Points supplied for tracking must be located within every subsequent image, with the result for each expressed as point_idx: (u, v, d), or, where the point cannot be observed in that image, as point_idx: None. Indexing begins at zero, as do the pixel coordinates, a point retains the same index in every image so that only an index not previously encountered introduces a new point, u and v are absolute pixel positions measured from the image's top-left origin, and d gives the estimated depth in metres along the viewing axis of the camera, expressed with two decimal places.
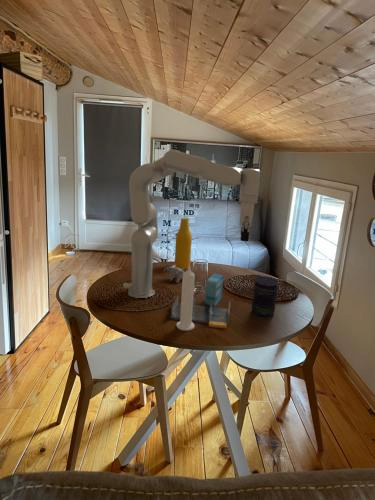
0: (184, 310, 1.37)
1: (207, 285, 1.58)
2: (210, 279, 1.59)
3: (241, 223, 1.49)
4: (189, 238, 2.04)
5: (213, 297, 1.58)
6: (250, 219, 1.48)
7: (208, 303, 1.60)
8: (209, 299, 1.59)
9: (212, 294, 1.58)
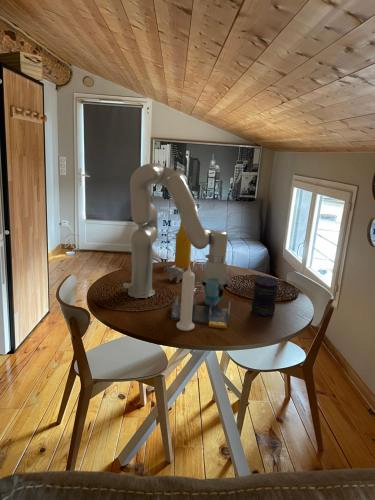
0: (184, 310, 1.37)
1: (207, 285, 1.58)
2: (210, 279, 1.59)
3: None
4: None
5: (213, 297, 1.58)
6: None
7: (208, 303, 1.60)
8: (209, 299, 1.59)
9: (212, 294, 1.58)
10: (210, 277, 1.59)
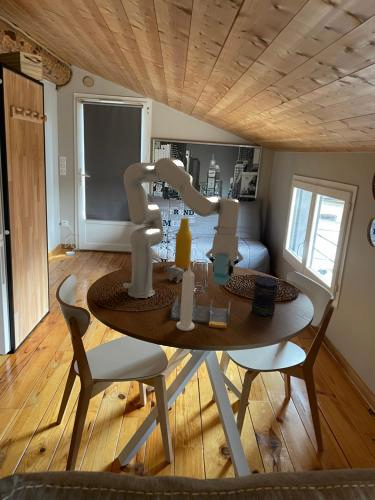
0: (184, 310, 1.37)
1: (216, 260, 1.39)
2: (219, 254, 1.40)
3: None
4: (189, 238, 2.04)
5: (222, 274, 1.39)
6: None
7: (216, 281, 1.41)
8: (218, 276, 1.40)
9: (221, 271, 1.39)
10: (219, 252, 1.40)
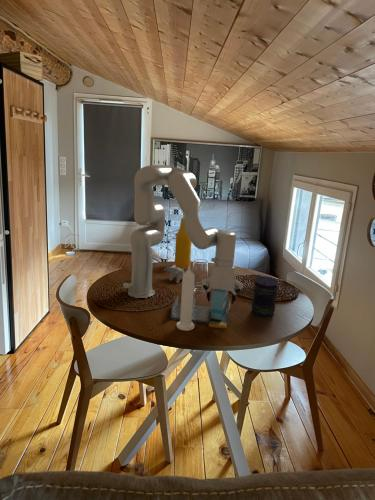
0: (184, 310, 1.37)
1: (213, 297, 1.42)
2: (216, 290, 1.44)
3: None
4: (189, 238, 2.04)
5: (220, 310, 1.43)
6: None
7: (214, 317, 1.44)
8: (215, 312, 1.44)
9: (219, 307, 1.43)
10: (216, 283, 1.44)
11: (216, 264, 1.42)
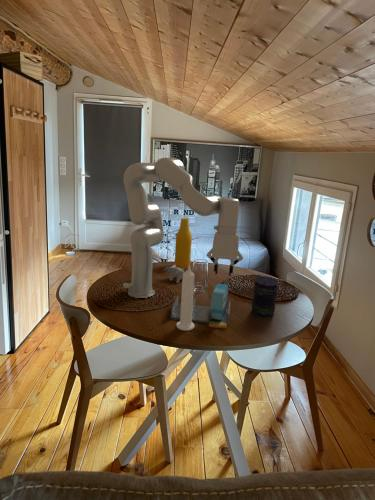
0: (184, 310, 1.37)
1: (213, 297, 1.42)
2: (216, 290, 1.44)
3: (237, 256, 1.40)
4: (189, 238, 2.04)
5: (220, 310, 1.43)
6: None
7: (214, 317, 1.44)
8: (215, 312, 1.44)
9: (218, 307, 1.43)
10: (219, 251, 1.40)
11: (219, 232, 1.39)
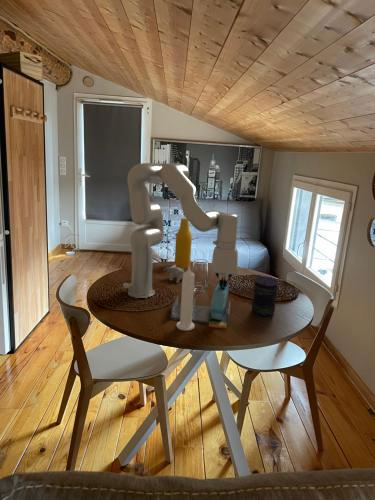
0: (184, 310, 1.37)
1: (214, 297, 1.42)
2: (216, 290, 1.44)
3: (236, 270, 1.42)
4: (189, 238, 2.04)
5: (220, 310, 1.43)
6: None
7: (214, 317, 1.44)
8: (215, 312, 1.44)
9: (219, 307, 1.43)
10: (219, 266, 1.42)
11: (218, 247, 1.40)
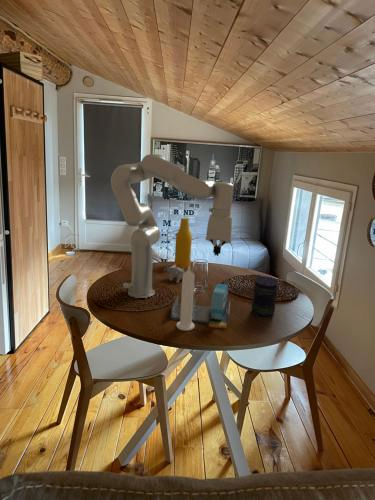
0: (184, 310, 1.37)
1: (213, 297, 1.42)
2: (216, 290, 1.44)
3: (230, 238, 1.49)
4: (189, 238, 2.04)
5: (220, 310, 1.43)
6: None
7: (214, 317, 1.44)
8: (215, 312, 1.44)
9: (218, 307, 1.43)
10: (213, 232, 1.49)
11: (213, 214, 1.47)
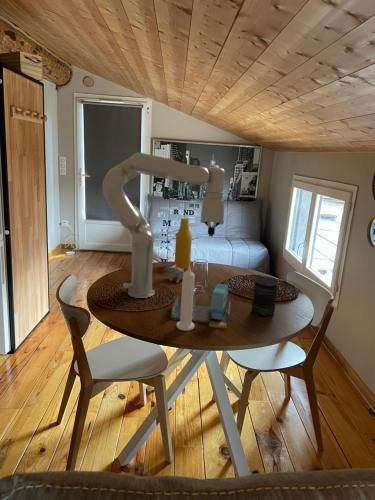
0: (184, 310, 1.37)
1: (213, 297, 1.42)
2: (216, 290, 1.44)
3: None
4: (189, 238, 2.04)
5: (220, 310, 1.43)
6: None
7: (214, 317, 1.44)
8: (215, 312, 1.44)
9: (218, 307, 1.43)
10: (207, 214, 1.60)
11: (207, 197, 1.59)
